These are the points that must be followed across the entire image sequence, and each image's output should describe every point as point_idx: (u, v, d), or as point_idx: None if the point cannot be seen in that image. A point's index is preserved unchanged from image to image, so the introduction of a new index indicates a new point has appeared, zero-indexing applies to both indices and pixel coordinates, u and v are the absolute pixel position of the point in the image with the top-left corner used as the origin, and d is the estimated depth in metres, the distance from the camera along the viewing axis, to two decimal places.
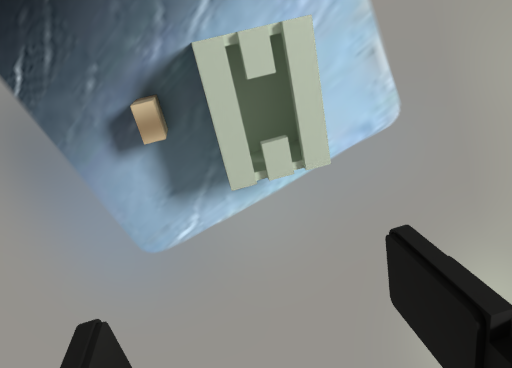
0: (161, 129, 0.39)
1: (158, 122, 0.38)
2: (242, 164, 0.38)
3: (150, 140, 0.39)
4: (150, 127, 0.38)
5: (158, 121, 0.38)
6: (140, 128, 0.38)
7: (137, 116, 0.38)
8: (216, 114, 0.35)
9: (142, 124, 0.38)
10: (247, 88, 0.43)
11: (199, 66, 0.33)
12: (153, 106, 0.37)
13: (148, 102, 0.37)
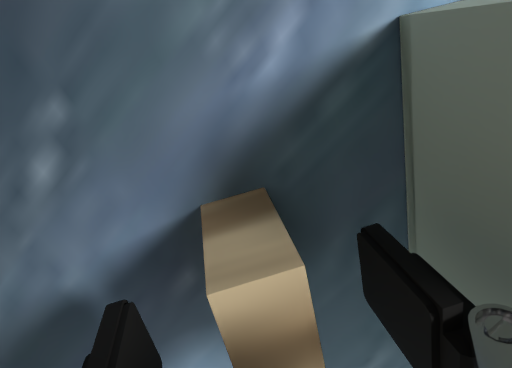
0: (319, 356, 0.10)
1: (312, 337, 0.09)
2: None
3: None
4: (279, 356, 0.09)
5: (313, 333, 0.09)
6: (240, 364, 0.09)
7: (233, 328, 0.09)
8: None
9: (248, 351, 0.09)
10: None
11: None
12: (303, 286, 0.09)
13: (285, 273, 0.08)
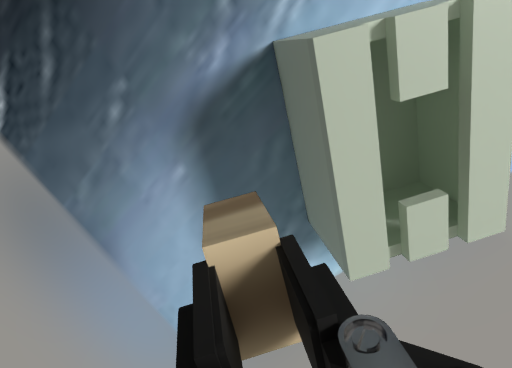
0: None
1: None
2: (371, 240, 0.23)
3: (256, 347, 0.12)
4: (261, 309, 0.12)
5: None
6: None
7: (223, 279, 0.11)
8: (341, 163, 0.20)
9: (235, 302, 0.11)
10: None
11: (321, 81, 0.18)
12: (277, 245, 0.11)
13: (262, 233, 0.11)
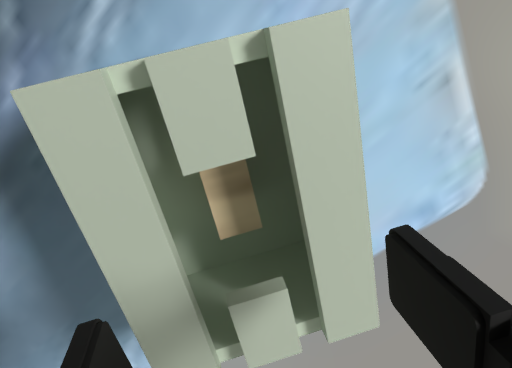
0: None
1: None
2: (185, 348, 0.17)
3: None
4: None
5: None
6: None
7: None
8: (110, 258, 0.14)
9: None
10: None
11: (45, 152, 0.12)
12: None
13: None
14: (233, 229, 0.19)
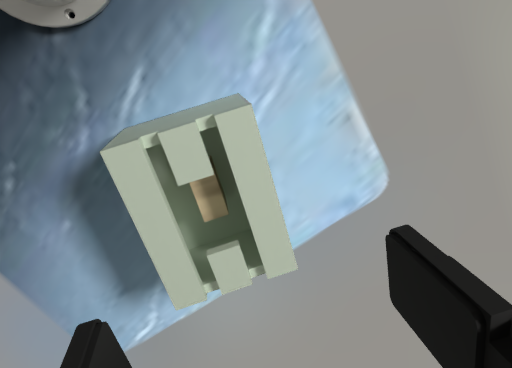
0: None
1: (210, 162, 0.33)
2: (184, 280, 0.30)
3: None
4: None
5: (210, 162, 0.33)
6: None
7: None
8: (144, 228, 0.28)
9: None
10: None
11: (113, 177, 0.26)
12: (210, 157, 0.35)
13: None
14: (211, 215, 0.33)
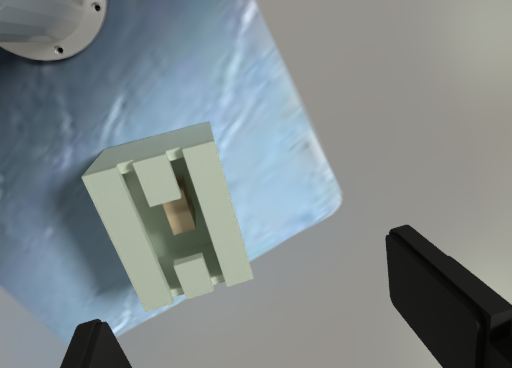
0: (181, 185, 0.37)
1: (181, 182, 0.37)
2: (153, 286, 0.35)
3: None
4: None
5: (181, 182, 0.38)
6: None
7: None
8: (118, 242, 0.32)
9: None
10: None
11: (93, 198, 0.30)
12: (181, 176, 0.39)
13: (178, 176, 0.40)
14: (180, 229, 0.37)
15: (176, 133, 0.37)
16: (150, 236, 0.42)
